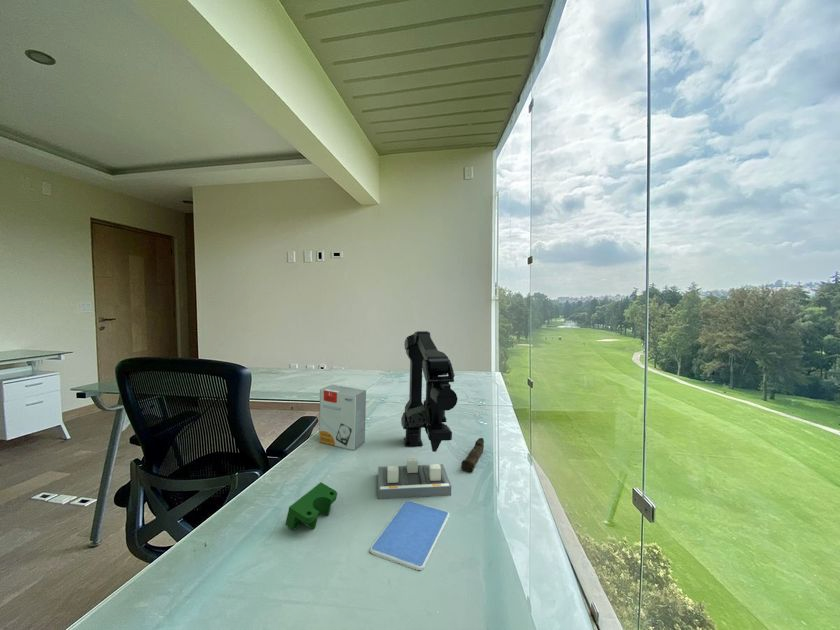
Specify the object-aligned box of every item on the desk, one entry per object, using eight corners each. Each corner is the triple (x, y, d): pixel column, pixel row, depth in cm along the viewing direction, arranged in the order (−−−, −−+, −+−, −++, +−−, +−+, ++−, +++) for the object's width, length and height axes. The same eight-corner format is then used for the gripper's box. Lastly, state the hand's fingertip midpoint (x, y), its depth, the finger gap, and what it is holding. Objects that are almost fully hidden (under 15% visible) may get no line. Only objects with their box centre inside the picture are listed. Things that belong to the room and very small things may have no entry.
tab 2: (406, 468, 100) (407, 457, 100) (416, 468, 100) (417, 457, 100) (407, 473, 97) (407, 461, 97) (417, 472, 98) (417, 461, 98)
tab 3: (428, 476, 96) (429, 464, 96) (439, 475, 96) (439, 464, 96) (430, 480, 94) (430, 468, 93) (440, 480, 94) (441, 468, 94)
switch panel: (378, 474, 101) (378, 464, 101) (442, 471, 104) (442, 462, 104) (378, 499, 89) (378, 487, 89) (451, 495, 92) (451, 484, 92)
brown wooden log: (472, 474, 103) (473, 460, 103) (460, 471, 105) (461, 457, 105) (489, 450, 120) (490, 437, 120) (479, 447, 122) (479, 435, 121)
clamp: (307, 548, 77) (303, 527, 73) (287, 535, 79) (283, 513, 75) (340, 503, 87) (338, 482, 82) (322, 492, 89) (319, 471, 84)
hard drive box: (318, 442, 122) (318, 389, 120) (331, 434, 129) (331, 384, 127) (354, 451, 116) (355, 395, 114) (366, 442, 123) (366, 389, 122)
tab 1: (387, 478, 94) (387, 466, 94) (397, 477, 95) (398, 465, 95) (387, 483, 92) (387, 470, 92) (398, 482, 92) (398, 470, 92)
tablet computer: (405, 503, 89) (405, 498, 89) (450, 515, 84) (450, 510, 84) (367, 555, 71) (367, 549, 71) (422, 575, 66) (422, 568, 66)
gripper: (405, 389, 104) (404, 438, 105) (411, 410, 86) (409, 469, 87) (440, 389, 106) (438, 437, 107) (453, 409, 87) (451, 467, 88)
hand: (434, 451), depth 97 cm, fingers closed
